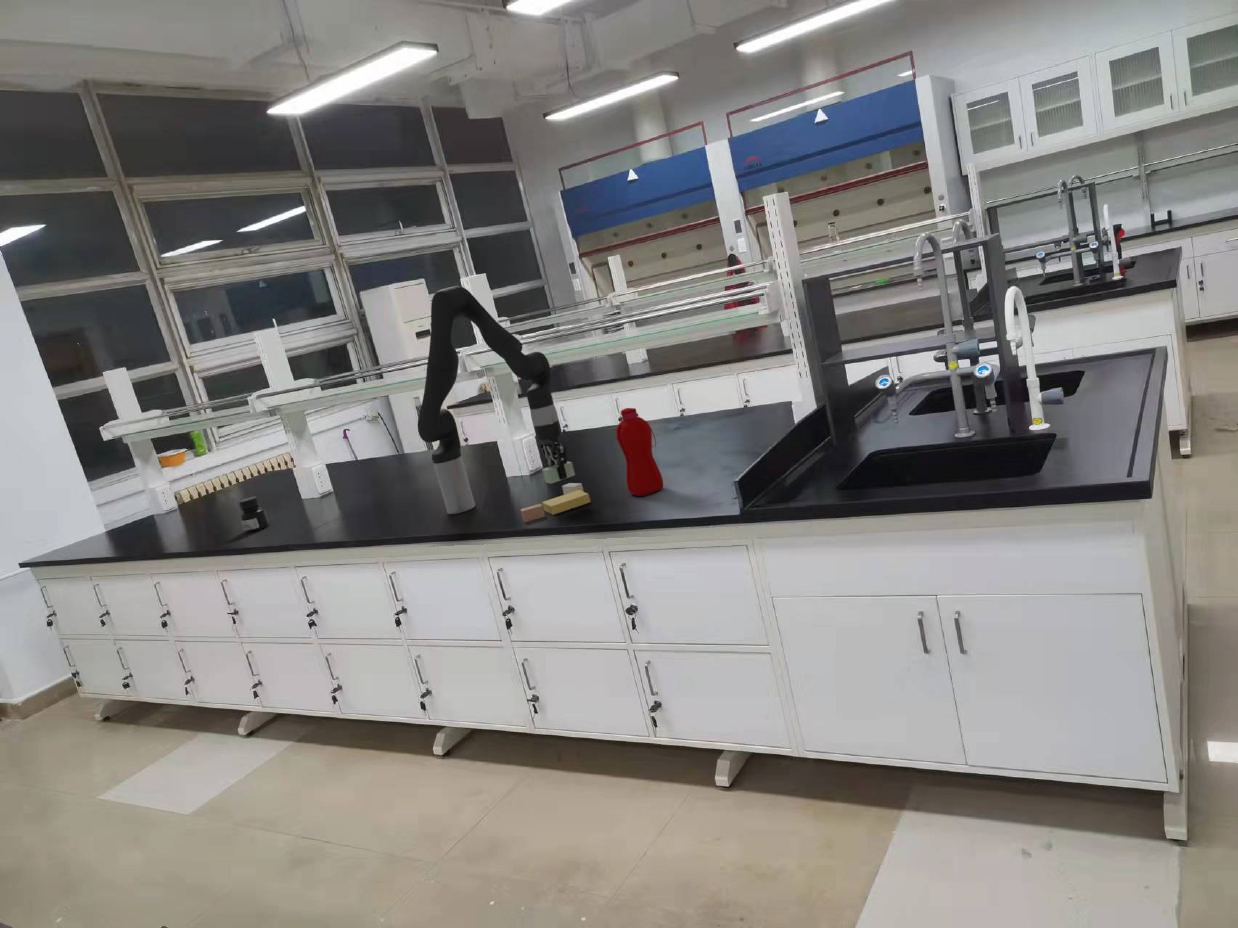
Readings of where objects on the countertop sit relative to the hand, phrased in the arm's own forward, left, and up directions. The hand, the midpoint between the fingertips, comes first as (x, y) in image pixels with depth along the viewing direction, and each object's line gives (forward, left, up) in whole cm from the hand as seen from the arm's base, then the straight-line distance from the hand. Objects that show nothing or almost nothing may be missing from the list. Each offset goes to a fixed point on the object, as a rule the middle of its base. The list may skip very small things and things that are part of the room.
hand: (560, 477), depth 253 cm
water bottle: (+15, +20, -9) cm, 27 cm away
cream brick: (-9, +7, -9) cm, 15 cm away
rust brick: (0, -11, -9) cm, 14 cm away
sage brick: (0, 0, 0) cm, 0 cm away
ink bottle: (-120, -76, -9) cm, 142 cm away
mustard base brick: (0, 0, -9) cm, 9 cm away
